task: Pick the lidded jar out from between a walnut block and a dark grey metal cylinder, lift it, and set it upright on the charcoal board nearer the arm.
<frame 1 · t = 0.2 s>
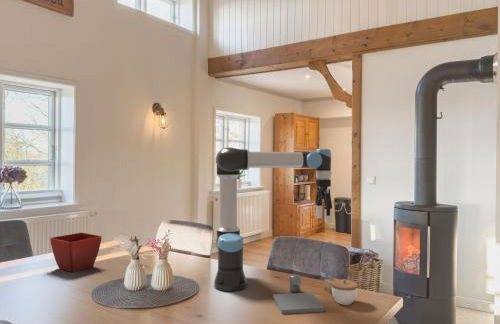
hand: (323, 220, 198), 28 cm above the table, tool pointing down, fingers open, 13 cm apart
plant pot: (76, 268, 208), on the table
charcoal board: (297, 304, 156), on the table
walnut block: (333, 291, 172), on the table
lidded jar: (344, 302, 159), on the table
dark grey metal cylinder: (295, 291, 172), on the table
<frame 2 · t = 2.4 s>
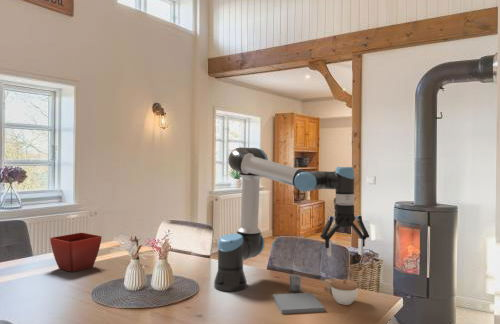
hand: (344, 255, 159), 19 cm above the table, tool pointing down, fingers open, 13 cm apart
nothing on the table moved.
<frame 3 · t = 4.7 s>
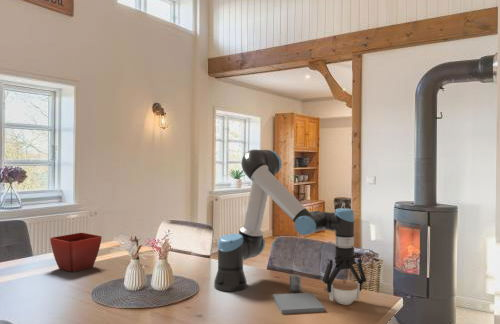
hand: (344, 299, 159), 1 cm above the table, tool pointing down, fingers closed on lidded jar, 11 cm apart
lidded jar: (344, 302, 159), on the table, touching gripper
everything else where it was.
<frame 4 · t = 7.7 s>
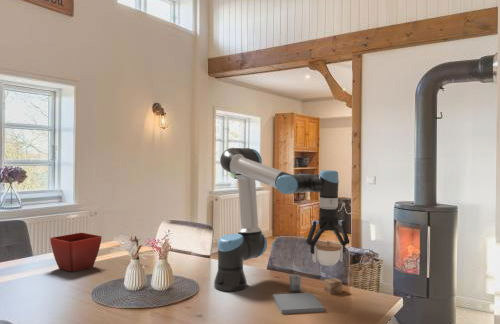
hand: (327, 261, 159), 17 cm above the table, tool pointing down, fingers closed on lidded jar, 11 cm apart
lidded jar: (327, 264, 159), point 16 cm above the table, touching gripper
everything else where it was.
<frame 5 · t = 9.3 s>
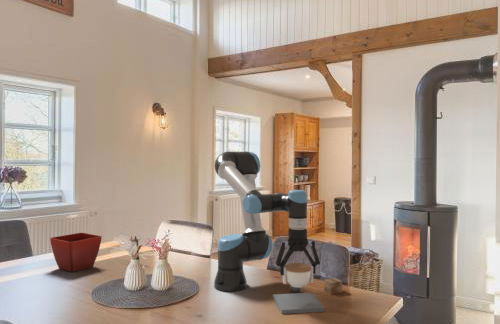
hand: (297, 282, 156), 9 cm above the table, tool pointing down, fingers closed on lidded jar, 11 cm apart
lidded jar: (298, 285, 156), point 8 cm above the table, touching gripper
everything else where it was.
when the fingers open (5 cm above the table, at t = 10.8 s): lidded jar drops 2 cm, resting on charcoal board.
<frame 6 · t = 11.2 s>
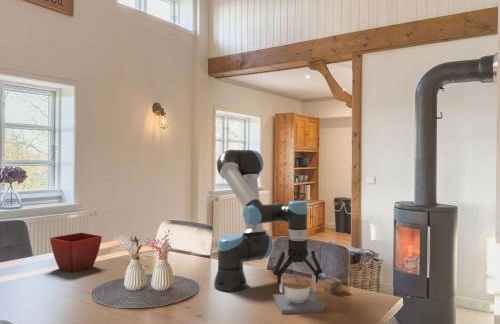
hand: (297, 291, 156), 5 cm above the table, tool pointing down, fingers open, 13 cm apart
lidded jar: (296, 301, 156), point 1 cm above the table, touching charcoal board
everything else where it was.
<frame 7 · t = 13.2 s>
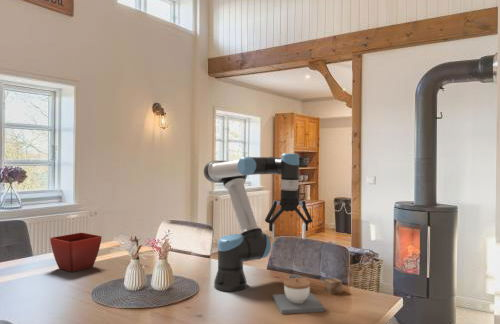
hand: (288, 238, 165), 25 cm above the table, tool pointing down, fingers open, 13 cm apart
nothing on the table moved.
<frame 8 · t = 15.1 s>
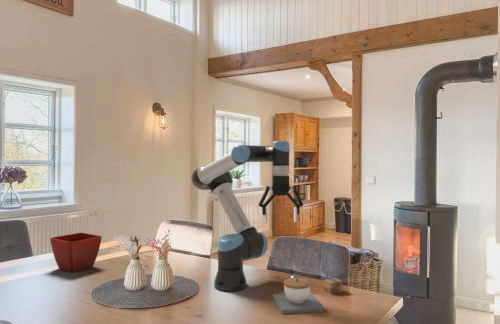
hand: (280, 222, 173), 31 cm above the table, tool pointing down, fingers open, 13 cm apart
nothing on the table moved.
at the end: lidded jar inside the target area on the charcoal board (0.3 cm from its centre), point 1.3 cm above the charcoal board's base; lidded jar tilted 0°; the gripper is holding nothing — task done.
